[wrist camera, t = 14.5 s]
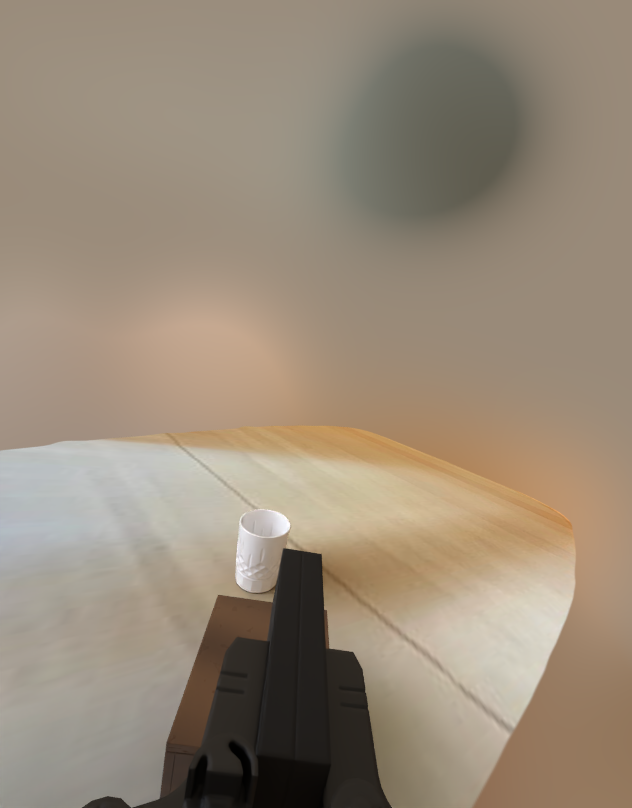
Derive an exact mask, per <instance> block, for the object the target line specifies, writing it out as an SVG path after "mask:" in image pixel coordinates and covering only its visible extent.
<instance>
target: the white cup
mask: <svg viewBox="0 0 632 808" xmlns="http://www.w3.org/2000/svg"><path fill="white" fill-rule="evenodd" d="M290 528H291V524H290V521H289V520H288V518H287V517H285V516H284V515H283V514H281V513H279V512H276V511H273V510H267V509H256V510H251V511H248V512H246V513H245V514H243V515H242V516H241V518H240V523H239V533H238V543H237V556H236V572H235V578H236V583H237V584H238V585H239V586H240V587H241V588H242V589H244V590H246V591H248V592H251V593H263V592H266V591H269V590H270V589H272V588H273V587H274V586H275V585H276V582H277V577H278V572H279V566H280V561H281V556H282V551H283V548H285V549H286V545H287V541H288V537H289V532H290Z"/></svg>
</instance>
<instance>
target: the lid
mask: <svg viewBox="0 0 632 808" xmlns="http://www.w3.org/2000/svg"><path fill="white" fill-rule="evenodd" d="M272 604H273V603H272V602H265V601H258V600H251V599H244V598H237V597H230V596H223V595H218V597H217V600H216V603H215V605H214V608H213V611H212V614H211V617H210V620H209V623H208V625H207V628H206V631H205V634H204V637H203V640H202V643H201V646H200V648H199V651H198V654H197V657H196V660H195V663H194V666H193V668H192V671H191V674H190V677H189V680H188V683H187V686H186V689H185V691H184V694H183V697H182V700H181V703H180V706H179V709H178V711H177V714H176V717H175V720H174V723H173V726H172V729H171V732H170V734H169V737H168V740H167V744H166V751H170V752H178V753H187V754H195V753H196V751H197V750H198V749H199V748H200V747H201V743H202V739H203V735H204V731H205V728H206V724H207V720H208V716H209V712H210V709H211V705H212V701H213V697H214V693H215V690H216V686H217V682H218V678H219V675H220V671H221V667H222V663H223V659H224V656H225V652H226V650H227V649H228V648H229V646H230V645H231V644H232V642H233V641H234V640H235V638H236V637H242V638H249V639H256V640H263V641H267V638H268V631H269V624H270V616H271V609H272ZM324 618H325V640H326V648H328V649H329V637H328V620H327V610H324Z"/></svg>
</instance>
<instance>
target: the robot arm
mask: <svg viewBox="0 0 632 808" xmlns="http://www.w3.org/2000/svg"><path fill="white" fill-rule="evenodd" d="M82 808H131V807H130V806H129V805H127V804H126V803H125V802H124V801H123V800H122V799H121V798H115V797H109V796H107V797H103V798H100V799H97V800H93V801H91V802H90V803H88V804H87V805H85V806H84V807H82ZM133 808H392V807H391V806H390V804H389V802H388V801H387V799H386V797H385V795H384V792H383V790H382V788H381V784H380V780H379V776H378V769H377V763H376V756H375V749H374V743H373V736H372V729H371V723H370V716H369V710H368V703H367V696H366V693H365V683H364V676H363V670H362V668H361V666H360V664H359V662H358V660H357V658H356V656H355V655H354V653H353V652H349V651H342V650H335V649H328V648H326V640H325V618H324V597H323V576H322V554H317V553H311V552H304V551H298V550H292V549H285V548H283V551H282V556H281V561H280V566H279V572H278V577H277V582H276V588H275V593H274V598H273V604H272V609H271V616H270V624H269V631H268V638H267V641H263V640H256V639H249V638H242V637H236V638H235V640H234V641H233V642H232V644H231V645H230V646H229V648H228V649H227V650H226V652H225V656H224V659H223V663H222V667H221V671H220V675H219V678H218V682H217V686H216V690H215V693H214V697H213V701H212V705H211V709H210V712H209V716H208V720H207V724H206V728H205V731H204V735H203V739H202V743H201V747H200V748H199V749H198V750H197V751H196V753H195V755H194V757H193V759H192V762H191V764H190V766H189V769H188V776H187V778H186V779H185V780H184V782H183V783H182V784H181V785H180V786H179V787H178V788H177V789H175V790H174V791H173V792H171V793H170V794H169V795H167V796H165V797H163V798H160V799H158V800H156V801H152V802H149V803H146V804H143V805H140V806H137V807H133Z"/></svg>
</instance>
